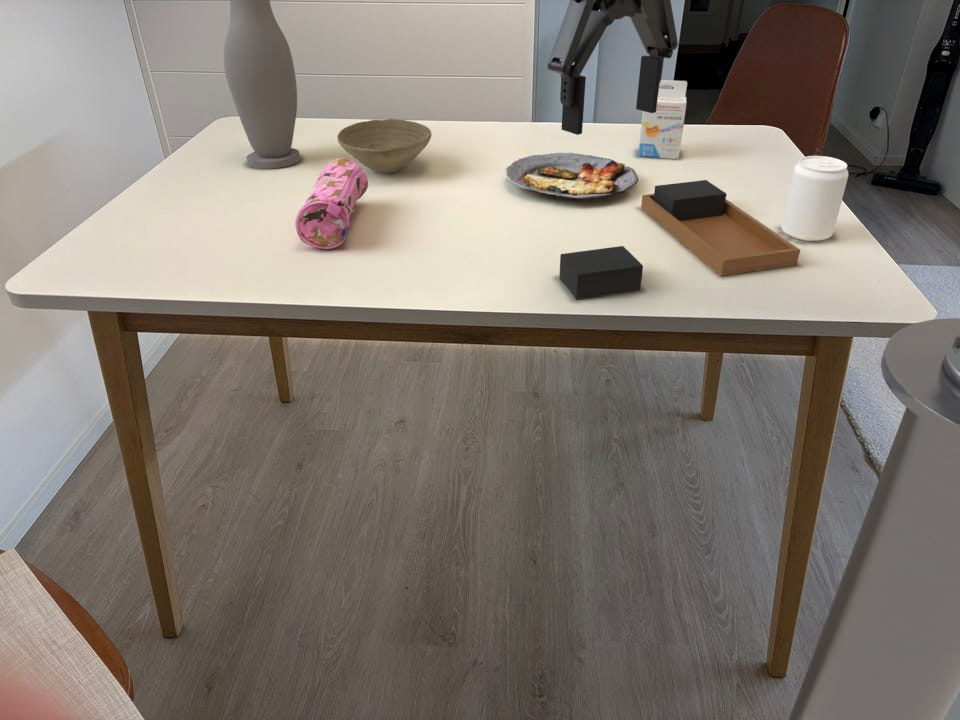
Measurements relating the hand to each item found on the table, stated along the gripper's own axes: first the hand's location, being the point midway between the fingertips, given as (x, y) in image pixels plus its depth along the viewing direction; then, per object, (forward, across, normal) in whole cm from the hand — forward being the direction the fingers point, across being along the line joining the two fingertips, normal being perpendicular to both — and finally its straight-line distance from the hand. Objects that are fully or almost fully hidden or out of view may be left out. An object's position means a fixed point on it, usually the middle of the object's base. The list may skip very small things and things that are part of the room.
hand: (610, 121), depth 94 cm
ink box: (+26, -57, -35) cm, 71 cm away
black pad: (+25, -4, -3) cm, 26 cm away
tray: (+25, -31, -2) cm, 40 cm away
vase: (+26, +7, -86) cm, 90 cm away
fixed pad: (+25, -35, -10) cm, 44 cm away
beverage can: (+25, -43, +8) cm, 51 cm away
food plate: (+26, -30, -34) cm, 53 cm away
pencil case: (+26, +14, -47) cm, 56 cm away
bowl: (+26, -8, -64) cm, 70 cm away
